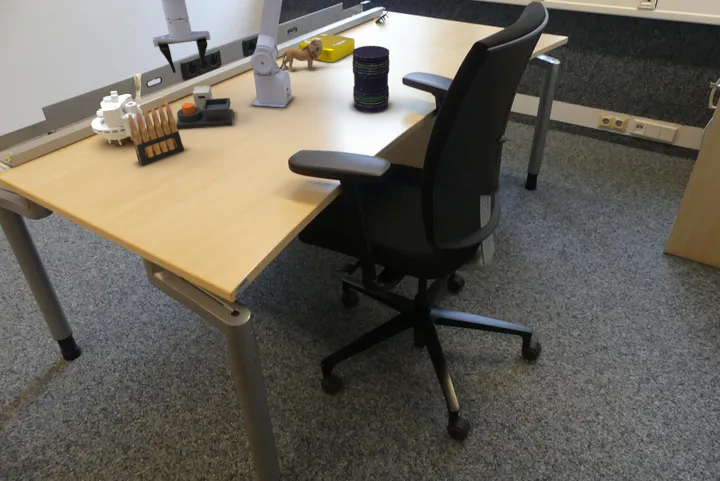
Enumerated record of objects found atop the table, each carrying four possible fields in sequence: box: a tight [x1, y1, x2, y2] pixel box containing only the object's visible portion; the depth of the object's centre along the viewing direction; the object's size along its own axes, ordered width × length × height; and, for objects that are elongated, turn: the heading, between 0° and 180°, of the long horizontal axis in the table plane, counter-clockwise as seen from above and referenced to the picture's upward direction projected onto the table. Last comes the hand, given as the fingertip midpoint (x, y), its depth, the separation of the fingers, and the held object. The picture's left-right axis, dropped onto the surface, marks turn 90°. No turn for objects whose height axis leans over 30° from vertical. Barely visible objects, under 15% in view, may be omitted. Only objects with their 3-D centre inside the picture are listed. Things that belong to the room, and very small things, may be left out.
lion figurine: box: [279, 39, 323, 72], centre depth 165 cm, size 15×5×9 cm, turn 102°
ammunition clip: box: [128, 102, 185, 166], centre depth 118 cm, size 11×2×12 cm, turn 133°
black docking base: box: [176, 106, 235, 130], centre depth 136 cm, size 14×8×3 cm, turn 98°
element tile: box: [298, 32, 356, 63], centre depth 178 cm, size 15×15×5 cm
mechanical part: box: [90, 90, 146, 146], centre depth 125 cm, size 11×12×12 cm
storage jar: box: [351, 45, 390, 114], centre depth 139 cm, size 10×10×15 cm
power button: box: [181, 102, 196, 114], centre depth 135 cm, size 3×3×2 cm
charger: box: [192, 85, 214, 110], centre depth 142 cm, size 4×5×6 cm
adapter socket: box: [202, 97, 231, 116], centre depth 135 cm, size 7×7×2 cm
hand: (188, 69), depth 141 cm, fingers open, 7 cm apart
